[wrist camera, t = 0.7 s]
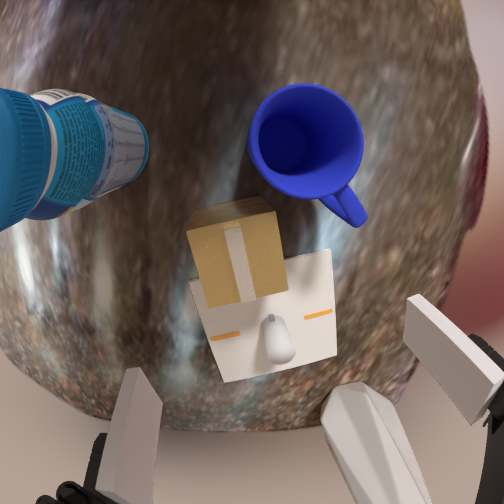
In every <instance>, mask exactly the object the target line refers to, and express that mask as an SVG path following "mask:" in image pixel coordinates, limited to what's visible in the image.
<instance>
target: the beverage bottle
mask: <svg viewBox="0 0 504 504" xmlns="http://www.w3.org/2000/svg"><path fill="white" fill-rule="evenodd" d="M148 154H149V139H148V135H147V132H146V130H145V128H144V126H143V125H142V123H141V122H140V121H139V120H138V119H137V118H136V117H134V116H133V115H131V114H129V113H127V112H124V111H120V110H118V109H115V108H113V107H110V106H108V105H106V104H103V103H101V102H100V101H98V100H97V99H95V98H93V97H91V96H88V95H85V94H80V93H73V92H71V91H68V90H64V89H48V90H43V91H39V92H36V93H34V94H32V95H27V94H25V93H22V92H17V91H13V90H8V89H2V88H0V232H1V231H3V230H5V229H7V228H9V227H11V226H12V225H14V224H16V223H18V222H20V221H21V220H23V219H24V218H28V219H32V220H50V219H54V218H57V217H60V216H62V215H64V214H66V213H67V212H72V211H75V210H78V209H80V208H83V207H85V206H86V205H88V204H90V203H91V202H92V201H94V200H95V199H96V198H99V197H101V196H103V195H105V194H107V193H109V192H112V191H114V190H117V189H120V188H123V187H125V186H127V185H128V184H130V183H131V182H133V181H134V180H135V179H136V178H137V177H138V176H139V174H140V173H141V172H142V170H143V168H144V166H145V164H146V162H147V159H148Z"/></svg>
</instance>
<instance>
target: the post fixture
mask: <svg viewBox="0 0 504 504" xmlns="http://www.w3.org/2000/svg"><path fill="white" fill-rule="evenodd" d="M284 263H285V270H286V276H287V282H288V288H289V290H288V291H284V292H280V293H276V294H272V295H267V296H263V297H259V298H256V300H254V301H250V302H246V303H241V302H237V303H232V304H228V305H223V306H218V307H214V308H208V305H207V301H206V298H205V295H204V292H203V288H202V285H201V282H200V279H199V278H197V279H192V280H189V286H190V289H191V292H192V295H193V298H194V301H195V304H196V307H197V310H198V313H199V316H200V319H201V321H202V324H203V327H204V330H205V333H206V336H207V338H208V341H209V344H210V347H211V349H212V352H213V355H214V357H215V360H216V363H217V365H218V368H219V371H220V373H221V376H222V378H223V381H224V383H226V382H232V381H237V380H242V379H247V378H252V377H256V376H261V375H265V374H270V373H274V372H278V371H282V370H286V369H290V368H294V367H298V366H302V365H305V364H309V363H312V362H316V361H319V360H323V359H326V358H329V357H333V356H336V355H337V343H336V317H335V299H334V284H333V271H332V259H331V249H329V248H327V249H323V250H319V251H315V252H311V253H306V254H302V255H298V256H294V257H289V258H285V259H284Z"/></svg>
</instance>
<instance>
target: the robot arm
mask: <svg viewBox="0 0 504 504" xmlns="http://www.w3.org/2000/svg"><path fill="white" fill-rule="evenodd" d="M403 341H404V342H405V344H406V345H407V346H408V347H409V348H410V350H411V351H412V352H413V353H414V354H415V355H416V357H417V358H418V359H419V360H420V362H421V363H422V364H423V365H424V366H425V367H426V369H427V370H428V371H429V372H430V374H431V375H432V376H433V377H434V379H435V380H436V381H437V382H438V384H439V385H440V386H441V387H442V389H443V390H444V391H445V393H446V394H447V395H448V396H449V398H450V399H451V400H452V402H453V403H454V404H455V405H456V407H457V408H458V409H459V411H460V412H461V413H462V415H463V416H464V417H465V419H466V420H467V421H468V423H469V424H470V425H472V424H473V423H475V422H476V421H478V420H479V419H480V418H482V417H483V415H484V414H485V412H486V411H487V409H489V411H490V414H489V415H488V417H487V419H486V420H485V422H484V423H483V427H485V425H486V424H487V423H488V434H487V443H486V451H485V458H484V465H483V470H482V475H481V481H480V485H479V489H478V494H477V498H476V502H475V504H504V359H503V358H502V357H501V356H500V355H499V354H498V353H497V352H496V351H494V349H493V348H492V347H491V346H489V345H488V344H487V342H486V341H484V340H483V339H482V338H481V337H479V336H477V335H474V334H470V335H469V336H466V335H465V334H464V333H463V332H462V331H461V330H460V329H459V328H458V327H457V326H455V325H454V324H453V323H452V322H451V321H450V320H449V319H448V318H447V317H445V316H444V315H443V314H442V313H441V312H440V311H439V310H437V309H436V308H435V307H434V306H433V305H432V304H430V303H429V302H428V301H427V300H426V299H425V298H423V297H422V296H421V295H420V294H417V295H414V296H412V297H409V298H407V305H406V316H405V325H404V334H403ZM162 406H163V402H162V401H161V399H160V398H159V396H158V395H157V393H156V392H155V390H154V389H153V387H152V386H151V384H150V382H149V381H148V379H147V378H146V376H145V374H144V373H143V371H142V369H141V368H140V367H136V368H128V369H126V372H125V375H124V378H123V381H122V385H121V388H120V391H119V395H118V398H117V401H116V405H115V408H114V412H113V415H112V419H111V423H110V427H109V431H108V433H100V434H99V436H98V437H97V438H96V440H95V441H94V444H93V448H92V453H91V456H90V461H89V464H88V468H87V472H86V476H85V481H84V485H83V487H81V486H80V485H78V484H77V483H75V482H73V481H67V482H63V483H62V484H61V485H60V486H59V487H58V489H57V492H56V498H57V500H55V499H54V498H52V497H50V496H48V495H43V496H40V497H39V498H38V499H37V501H36V504H152V502H153V489H154V476H155V465H156V455H157V445H158V437H159V429H160V421H161V413H162Z"/></svg>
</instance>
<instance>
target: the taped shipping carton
mask: <svg viewBox="0 0 504 504" xmlns="http://www.w3.org/2000/svg"><path fill="white" fill-rule="evenodd" d="M186 233H187V237H188V240H189V244H190V248H191V251H192V255H193V258H194V262H195V265H196V268H197V272H198V275H199V279H200V282H201V285H202V288H203V292H204V295H205V298H206V301H207V305H208V308H214V307H218V306H223V305H228V304H232V303H237V302H241V303H246V302H250V301H254V300H256V298H259V297H263V296H267V295H272V294H276V293H280V292H284V291H288V290H289V288H288V282H287V276H286V270H285V263H284V257H283V251H282V245H281V240H280V234H279V228H278V222H277V217H276V211H275V210H274V209H273V208H272V207H271V206H270V205H269V204H268V203H267V202H266V201H265V200H264V199H263V198H262V196H261V195H258V196H253V197H248V198H244V199H239V200H235V201H230V202H226V203H221V204H217V205H213V206H208V207H204V208H200V209H196V210H194V212H193V214H192V217H191V219H190V222H189V225H188V227H187V230H186Z"/></svg>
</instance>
